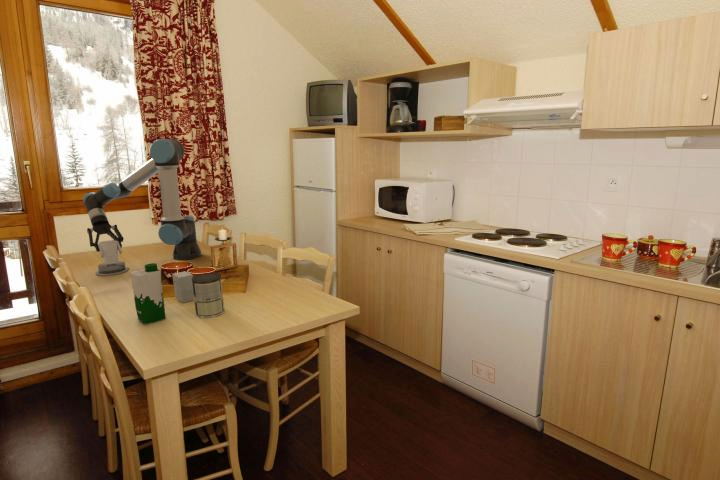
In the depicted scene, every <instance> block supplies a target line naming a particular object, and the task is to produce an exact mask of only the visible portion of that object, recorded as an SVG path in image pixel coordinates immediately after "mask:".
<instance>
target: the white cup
mask: <svg viewBox="0 0 720 480" xmlns="http://www.w3.org/2000/svg"><path fill="white" fill-rule="evenodd" d="M98 244H100V246H101V249H102V252H103V258H102V261H103V262H102V263H111V262H116V261H120V260H119V251H118V246H117V241H116V240H113V239H110V240H103V241H100V242H98Z"/></svg>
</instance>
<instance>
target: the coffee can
mask: <svg viewBox="0 0 720 480" xmlns="http://www.w3.org/2000/svg"><path fill="white" fill-rule="evenodd" d="M192 284H193V292H194V300H193V301H194V306H195V307H194V309H195V316H196V317H197V318H200V319H209V318H215V317H216V318H217V317H218V316H221V315H223V314H224V313H226V312H225V310H226V309H225V306H224V305H225V303H224V293H223V285H222V274H221V273H219V272H206V273H205V272H204V273H199V274H197V275H193V277H192Z"/></svg>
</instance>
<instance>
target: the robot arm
mask: <svg viewBox="0 0 720 480" xmlns="http://www.w3.org/2000/svg"><path fill="white" fill-rule="evenodd" d="M148 151H149V156H150V158H151V159H149V160H148V161H146V162H145V163H144V164H142V165H140V167H138V168H137V169H136V170H134V171H133V172H132V173H130V174H128V175H127V176H126V177H125V178H123V179H122V180H121V181H119V182H118V183H115V182H113V181H110V182H108V183H107V184H104V185H103V186H102V187H101V188H100V189H98V190H97V191H96V192H89V193H85V194H84V195H83V197H82V201H83V205H84V206H85V209H86V211H87V215H88V218H89V220H90V223H91V225H92V227H91V228H90V227H88V228H87V230H86V232H87V234H88V238H89V239H88V240H89V246H90V247H94V249H95V251H96V252H99V253H98V254H99V255H100V258H101V259H103V252H102V249H101V246H100V244H99V240H100V236H101V235H108V236H109V237H110V238H111V240H116V241H117V246H118V255H122V254H123V249H122V247H123V245H122V242H124V236H123V234H122V233H121V232H120V229H118V225H117V224H114V225H111V224H110V223H109V220H108V217H107V215H106V212H105V210H104V207H105V206H106V205H107V204H109V203H110V202H111V201H113V200H117V199H122V198H123V199H124V198H127V197H129V196H130V195H131V194H132V192H133V191H135V190H136V189H137V188H139V187H140V186H142V185H143V184H144V183H145V182H147V181H148V180H150V179H151V178H152V177H154V176H155V175H157V174H158V177H159V187H160V197H161V204H162V205H161V206H162V214H163V216H162V217H161V218H160V226H159V229H158V238H159V240H160V241H161V242H162V243H163V244H165V245H167V246H174V247H173V251H172V259H174V260H191V259H196V258H199V257H201V256H202V250H201V247H200V246H199V244H198V240H197V232H196V221H195V217H194V216H192V215H187V216H186V215H184V216H183V215H182V212H181V211H182V210H181V200H180V191H179V190H180V188H179V182H178V180H179V179H178V171H177V170H178V168H179V167H180V161H181V160H182V158H183V157H184V156H185V147H184V145H183V143H181V141H179V140H178V139H174V138H159V139H156V140H153V142H152V143H151V145H150V147H149V150H148ZM111 229H112V230H113V231H114V232H113V231H112V230H111ZM93 231H94V233H96V237H95V240H93V239H94V238H93Z"/></svg>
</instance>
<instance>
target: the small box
mask: <svg viewBox="0 0 720 480" xmlns="http://www.w3.org/2000/svg"><path fill="white" fill-rule="evenodd" d="M171 277H172V283H173V289H174V297H175V299H176V300H178V301H179V302H181V303H187V302H190V301H194V292H193V284H192V277H194V274H193V273H191V272H188V271H181V272H176V273H172V276H171Z"/></svg>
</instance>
